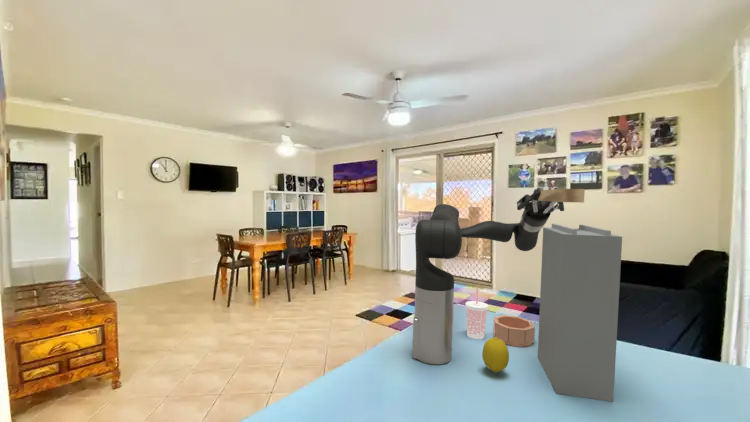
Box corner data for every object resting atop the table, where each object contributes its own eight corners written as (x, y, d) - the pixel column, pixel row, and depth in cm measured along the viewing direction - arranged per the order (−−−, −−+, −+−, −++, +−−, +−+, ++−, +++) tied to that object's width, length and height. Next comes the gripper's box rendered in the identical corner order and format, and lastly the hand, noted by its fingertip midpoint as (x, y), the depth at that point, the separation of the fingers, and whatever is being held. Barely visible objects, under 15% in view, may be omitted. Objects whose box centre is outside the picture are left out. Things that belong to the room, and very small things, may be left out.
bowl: (496, 344, 87) (496, 327, 87) (491, 329, 96) (492, 314, 96) (537, 349, 84) (537, 331, 84) (528, 333, 94) (529, 317, 94)
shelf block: (556, 393, 65) (563, 229, 64) (537, 357, 80) (543, 223, 78) (613, 401, 63) (622, 231, 61) (583, 363, 77) (590, 224, 76)
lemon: (510, 380, 69) (512, 344, 69) (483, 377, 71) (484, 341, 70) (505, 367, 75) (506, 333, 74) (480, 364, 76) (481, 331, 76)
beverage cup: (480, 330, 95) (482, 283, 95) (491, 340, 89) (493, 289, 89) (460, 331, 94) (462, 283, 94) (469, 340, 88) (471, 289, 88)
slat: (563, 202, 73) (564, 188, 73) (536, 200, 98) (536, 190, 98) (584, 202, 72) (584, 188, 72) (550, 200, 97) (551, 190, 97)
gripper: (510, 206, 111) (520, 179, 97) (556, 207, 108) (574, 179, 93) (512, 226, 108) (522, 201, 93) (559, 228, 105) (577, 202, 90)
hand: (548, 190), depth 93 cm, fingers closed on slat, 4 cm apart
